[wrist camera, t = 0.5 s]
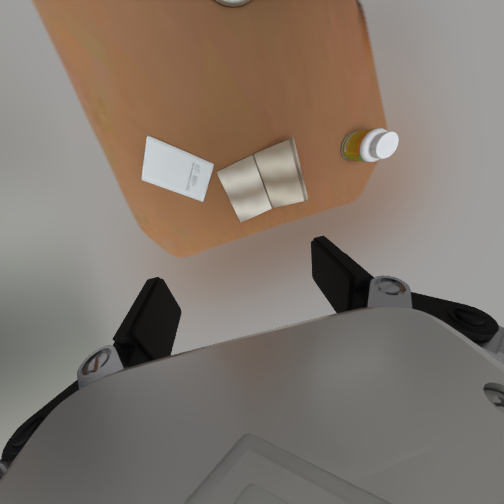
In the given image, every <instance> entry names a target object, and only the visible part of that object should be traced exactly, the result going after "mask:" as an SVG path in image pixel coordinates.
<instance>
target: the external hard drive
mask: <svg viewBox="0 0 504 504" xmlns="http://www.w3.org/2000/svg"><path fill="white" fill-rule="evenodd" d="M213 167H214V164H213V163H211V162H208V161H206V160H204V159H202V158H199V157H197V156H195V155H192V154H190V153H188V152H186V151H183V150H181V149H179V148H176V147H174V146H172V145H169V144H167V143H165V142H163V141H160V140H158V139H156V138H153V137H151V136H147V140H146V148H145V155H144V162H143V170H142V178H141V180H143V181H146V182H149V183H152V184H154V185H157V186H160V187H163V188H166V189H168V190H171V191H174V192H177V193H180V194H182V195H185V196H188V197H191V198H193V199H196V200H199V201H202V202H203V201H204V198H205V194H206V191H207V187H208V184H209V181H210V177H211V174H212V170H213Z"/></svg>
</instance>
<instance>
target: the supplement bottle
mask: <svg viewBox="0 0 504 504" xmlns="http://www.w3.org/2000/svg"><path fill="white" fill-rule="evenodd" d="M397 146H398V135H397V134H396V133H395V132H388V131H386V130H385V129H382V128H378V129H370V130H361V131H355V132H352V133H350V134H349V135H348V136H347V137H346V138H345V139H344V141H343V144H342V148H341V152H342V155H343V157H344V158H345V159H347V160H353V161H363V162H374V161H377V160H379V159H383V158H387V157H389V156H390V155H392V153H393V152H394V151H395V150H396V148H397Z"/></svg>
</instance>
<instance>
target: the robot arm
mask: <svg viewBox="0 0 504 504" xmlns="http://www.w3.org/2000/svg"><path fill="white" fill-rule="evenodd" d="M215 1H216V2H218V3H220V4H223V5H225V6H231V7H236V6H242V5H244V4H246V3H248V2H250V1H251V0H215ZM311 254H312V276H313V279H314V281H315V282H316V284H317V285H318V287H319V288H320V289H321V291H322V292H323V294H324V295H325V297H326V298H327V300H328V301H329V302H330V304H331V305H332V307H333V308H334V310H335V311H336V313H337V314H332V315H328V316H324V317H320V318H315V319H311V320H307V321H303V322H299V323H295V324H291V325H287V326H284V327H279V328H276V329H272V330H268V331H264V332H260V333H256V334H252V335H248V336H244V337H240V338H236V339H232V340H229V341H225V342H221V343H217V344H213V345H209V346H206V347H202V348H198V349H194V350H190V351H186V352H183V353H179V354H175V355H171V351H172V347H173V343H174V340H175V336H176V332H177V328H178V324H179V320H180V316H181V309H180V307H179V305H178V304H177V302H176V300H175V298H174V297H173V295H172V293H171V292H170V290H169V288H168V287H167V285H166V283H165V281H164V280H163V279H160V278H159V277H156V278H152V279H148V280H147V281H146V283H145V285H144V286H143V288H142V290H141V291H140V293H139V295H138V297H137V298H136V300H135V302H134V303H133V305H132V307H131V309H130V310H129V312H128V314H127V315H126V317H125V319H124V320H123V322H122V324H121V326H120V327H119V329H118V331H117V332H116V334H115V336H114V337H113V340H114V341H115V342H114V344H113V346H112V345H107V346H103V347H101V348H99V349H97V350H96V351H94V352H93V353H92V354H90V355H89V356H88V357H87V358H86V359H85V360H84V361H83V363H82V364H81V365H80V367H79V369H78V371H77V379H78V380H77V381H75V382H74V383H73V384H71V385H70V386H69V387H68V388H66V389H65V390H64V391H63V392H61V393H60V394H59V395H58V396H56V397H55V398H54V399H53V400H51V401H50V402H49V403H48V404H46V405H45V406H44V407H43V408H42V409H40V410H39V411H38V412H37V413H35V414H34V415H33V416H31V417H30V418H29V419H28V420H27V421H26V422H24V423H23V424H22V425H21V426H20V427H19V428H18V429H17V430H16V432H15V433H14V434H13V435H12V437H11V438H10V439H9V441H8V442H7V444H6V446H5V448H4V450H3V453H2V459H1V460H0V504H504V328H503V327H501V326H499V325H498V324H497V322H496V321H495V320H494V319H493V318H492V317H491V316H490V315H488V314H486V313H485V312H483V311H481V310H479V309H477V308H475V307H471V306H468V305H464V304H460V303H456V302H452V301H447V300H443V299H439V298H434V297H430V296H426V295H422V294H417V293H413V292H411V290H410V288H409V286H408V285H407V284H406V283H405V282H404V281H402V280H400V279H398V278H395V277H391V276H378V277H375V278H374V277H373V276H371V275H370V274H369V273H368V272H367V271H365V270H364V269H363V268H362V267H361V266H360V265H358V264H357V263H356V262H355V261H354V260H352V259H351V258H350V257H349V256H348V255H347V254H345V253H344V252H342V251H341V250H340V249H339V248H338V247H337V246H335V245H334V244H333V243H332V242H331V241H330V240H328V239H327V238H326V237H324V236H320V237H316V238H314V240H313V241H312V242H311ZM170 355H171V356H170Z"/></svg>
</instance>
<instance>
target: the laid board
mask: <svg viewBox="0 0 504 504" xmlns="http://www.w3.org/2000/svg"><path fill="white" fill-rule="evenodd" d="M217 174H218V177H219V179H220V181H221V183H222V185H223V187H224V189H225V191H226V193H227V195H228V197H229V199H230V202H231V204H232V206H233V208H234V210H235V212H236V214H237V216H238V218H239V220H240V222H243V221H245V220H248V219H250V218H252V217H254V216H257V215H259V214H261V213H263V212H265V211H268V210H270V209H272V208H271V207H272V204H271V201H270V198H269V196H268V193H267V190H266V187H265V184H264V182H263V179H262V176H261V173H260V170H259V168H258V165H257V162H256V159H255V157H254V154H252V155H250V156H248V157H246V158H244V159H242V160H240V161H238V162H236V163H234V164H232V165H229V166H227V167H225V168H223V169H221V170H219V171H217Z"/></svg>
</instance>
